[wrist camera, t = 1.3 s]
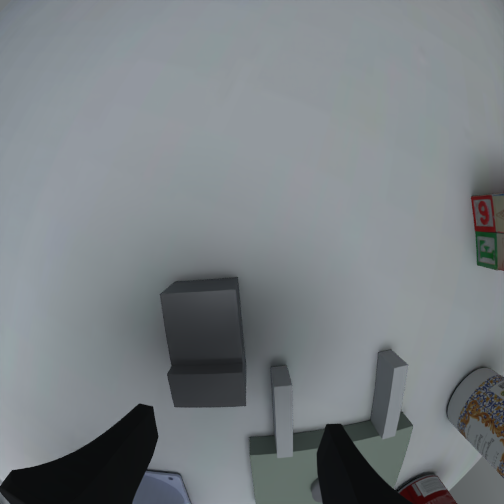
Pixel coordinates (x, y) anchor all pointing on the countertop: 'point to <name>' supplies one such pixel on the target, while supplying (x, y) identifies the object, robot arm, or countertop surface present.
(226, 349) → the grey block with ledge
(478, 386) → the bath foam
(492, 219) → the stack of blocks
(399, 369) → the forked grey-green block
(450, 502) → the soda can
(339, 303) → the countertop surface
